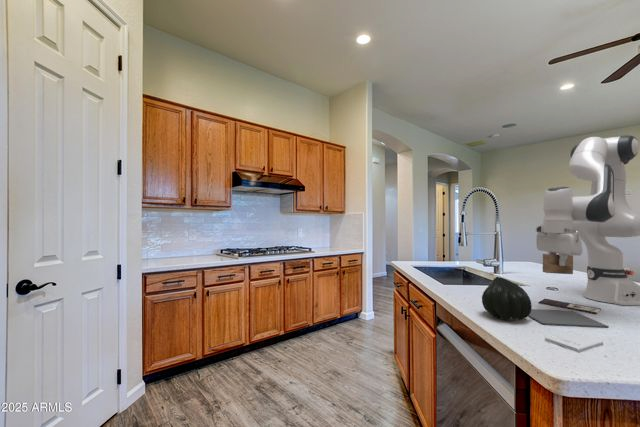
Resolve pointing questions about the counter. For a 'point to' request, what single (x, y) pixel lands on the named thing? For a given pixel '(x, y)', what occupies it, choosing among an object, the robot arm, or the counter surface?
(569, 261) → the box
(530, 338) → the counter surface
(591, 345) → the external hard drive
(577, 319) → the mat
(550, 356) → the counter surface
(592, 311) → the chocolate bar
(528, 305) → the squash
